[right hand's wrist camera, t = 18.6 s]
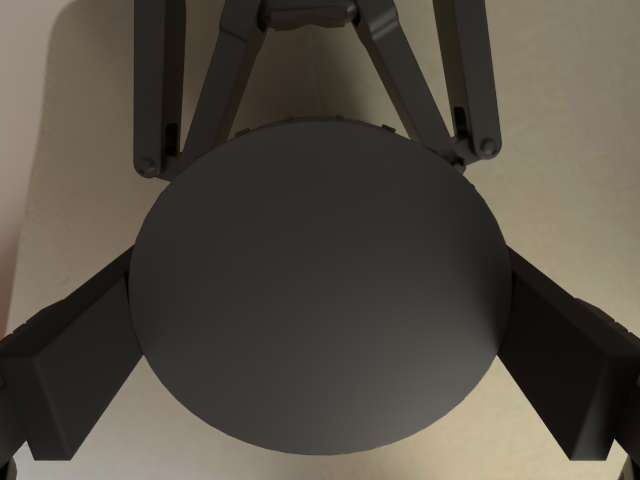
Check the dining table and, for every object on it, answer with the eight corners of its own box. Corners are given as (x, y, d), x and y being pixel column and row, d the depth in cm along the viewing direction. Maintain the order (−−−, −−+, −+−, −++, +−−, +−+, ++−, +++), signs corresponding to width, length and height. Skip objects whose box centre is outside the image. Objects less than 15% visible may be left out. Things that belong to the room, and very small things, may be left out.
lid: (132, 366, 13) (101, 410, 11) (195, 53, 10) (165, 43, 8) (402, 438, 14) (414, 488, 13) (549, 186, 11) (596, 204, 9)
